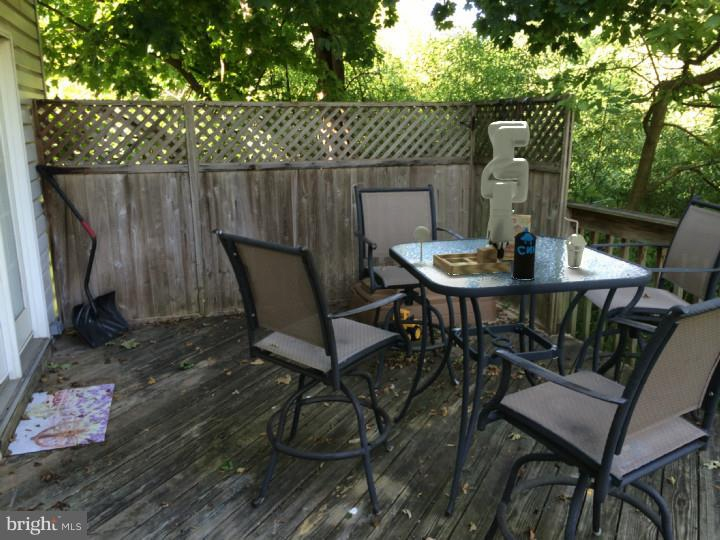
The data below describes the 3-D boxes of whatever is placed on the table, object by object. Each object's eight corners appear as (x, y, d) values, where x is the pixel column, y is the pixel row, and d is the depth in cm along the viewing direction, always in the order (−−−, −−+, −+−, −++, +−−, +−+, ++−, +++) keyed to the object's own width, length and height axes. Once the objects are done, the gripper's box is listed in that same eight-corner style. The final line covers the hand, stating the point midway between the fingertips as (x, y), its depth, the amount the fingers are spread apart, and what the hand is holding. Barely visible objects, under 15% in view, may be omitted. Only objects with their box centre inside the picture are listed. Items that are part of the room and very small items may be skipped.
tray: (488, 260, 252) (488, 251, 251) (510, 272, 230) (511, 262, 230) (433, 263, 247) (433, 254, 246) (450, 275, 226) (450, 265, 225)
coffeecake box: (491, 259, 254) (492, 215, 250) (494, 256, 261) (496, 213, 256) (526, 262, 248) (528, 216, 244) (528, 258, 254) (531, 214, 250)
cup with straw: (574, 270, 232) (578, 221, 227) (557, 266, 240) (560, 218, 235) (589, 268, 236) (593, 219, 231) (572, 264, 243) (575, 216, 239)
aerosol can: (509, 275, 225) (511, 224, 220) (529, 275, 225) (532, 224, 221) (516, 281, 217) (519, 228, 212) (537, 280, 217) (541, 227, 213)
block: (490, 261, 238) (491, 247, 237) (496, 264, 233) (497, 250, 231) (476, 262, 237) (477, 248, 236) (482, 265, 231) (483, 250, 230)
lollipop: (430, 258, 257) (431, 225, 254) (427, 262, 251) (427, 227, 247) (415, 257, 260) (415, 224, 256) (411, 261, 253) (411, 227, 250)
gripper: (514, 211, 237) (512, 255, 241) (480, 213, 234) (478, 257, 238) (523, 214, 229) (521, 259, 233) (487, 215, 226) (486, 261, 231)
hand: (499, 258), depth 236 cm, fingers closed
